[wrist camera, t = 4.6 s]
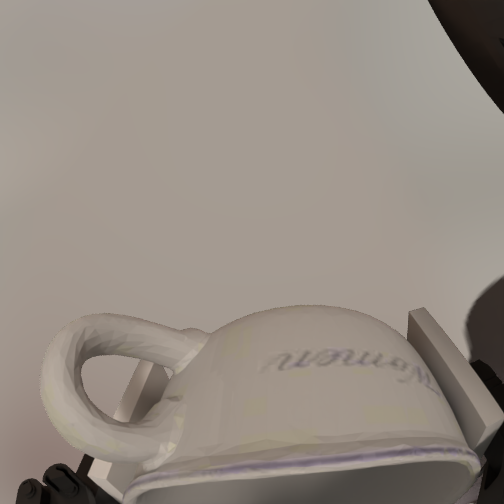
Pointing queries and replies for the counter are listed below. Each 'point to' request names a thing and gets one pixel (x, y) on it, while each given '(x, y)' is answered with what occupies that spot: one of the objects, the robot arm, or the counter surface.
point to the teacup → (268, 411)
